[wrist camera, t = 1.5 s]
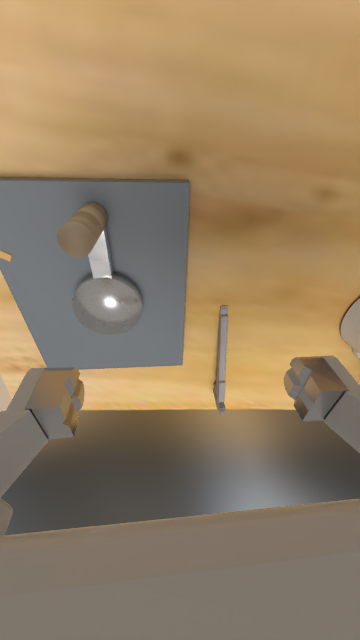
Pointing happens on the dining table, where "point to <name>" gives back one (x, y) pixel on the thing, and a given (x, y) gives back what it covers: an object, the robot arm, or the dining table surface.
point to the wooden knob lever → (99, 275)
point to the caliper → (221, 361)
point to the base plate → (68, 271)
